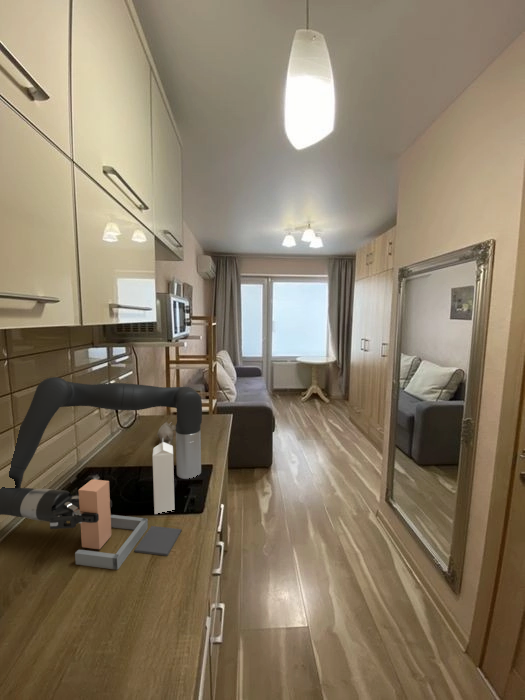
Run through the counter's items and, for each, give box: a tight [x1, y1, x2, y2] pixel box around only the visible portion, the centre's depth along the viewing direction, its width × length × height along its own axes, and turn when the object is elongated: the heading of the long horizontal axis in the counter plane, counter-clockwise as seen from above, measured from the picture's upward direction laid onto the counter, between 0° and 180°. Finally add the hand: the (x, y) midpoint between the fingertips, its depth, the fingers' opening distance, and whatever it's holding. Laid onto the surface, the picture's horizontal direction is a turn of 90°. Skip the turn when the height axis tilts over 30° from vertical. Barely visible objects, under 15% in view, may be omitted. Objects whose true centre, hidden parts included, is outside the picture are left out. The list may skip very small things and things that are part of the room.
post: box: [78, 478, 112, 550], centre depth 81 cm, size 5×5×16 cm
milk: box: [152, 442, 176, 515], centre depth 96 cm, size 6×6×22 cm
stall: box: [74, 514, 149, 571], centre depth 81 cm, size 14×11×3 cm
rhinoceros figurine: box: [156, 421, 176, 445], centre depth 143 cm, size 8×14×15 cm
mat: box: [133, 525, 182, 557], centre depth 83 cm, size 9×9×1 cm
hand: (104, 510), depth 80 cm, fingers closed on post, 5 cm apart
